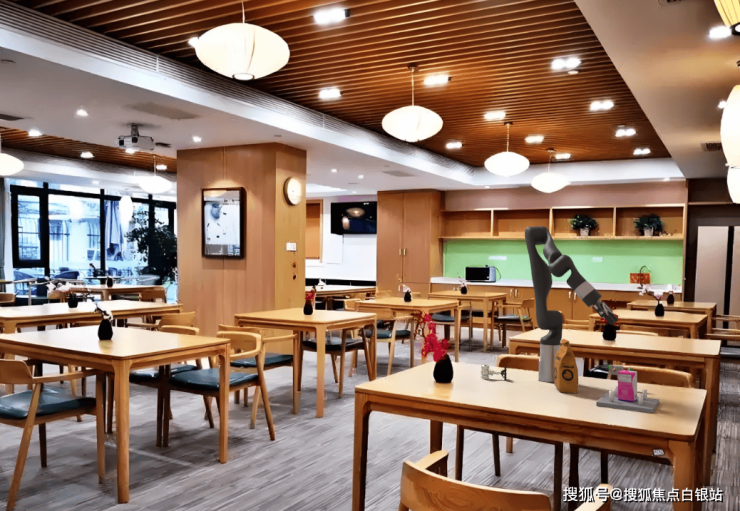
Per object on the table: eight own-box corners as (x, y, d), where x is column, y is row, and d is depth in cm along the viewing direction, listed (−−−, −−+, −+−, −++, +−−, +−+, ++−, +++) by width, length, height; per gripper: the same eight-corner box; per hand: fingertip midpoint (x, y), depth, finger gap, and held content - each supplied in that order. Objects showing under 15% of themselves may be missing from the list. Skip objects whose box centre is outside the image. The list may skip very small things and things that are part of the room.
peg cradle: (596, 405, 231) (596, 391, 232) (606, 396, 248) (606, 383, 248) (652, 413, 221) (652, 398, 221) (659, 402, 238) (659, 389, 238)
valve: (480, 380, 281) (506, 381, 278) (480, 366, 281) (506, 367, 278) (480, 377, 287) (506, 378, 285) (480, 363, 287) (506, 365, 285)
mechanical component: (631, 391, 260) (631, 368, 260) (607, 387, 266) (607, 365, 266) (633, 389, 262) (633, 367, 262) (608, 386, 268) (609, 364, 269)
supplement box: (622, 397, 239) (622, 369, 239) (637, 400, 235) (638, 371, 235) (617, 400, 235) (617, 371, 235) (632, 402, 231) (632, 373, 231)
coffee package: (555, 392, 254) (556, 341, 254) (553, 387, 266) (553, 338, 267) (579, 394, 252) (580, 342, 252) (576, 388, 264) (576, 338, 264)
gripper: (590, 289, 251) (618, 318, 245) (597, 287, 263) (624, 315, 257) (577, 300, 254) (604, 330, 248) (585, 298, 266) (611, 326, 260)
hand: (615, 322), depth 253 cm, fingers open, 8 cm apart
